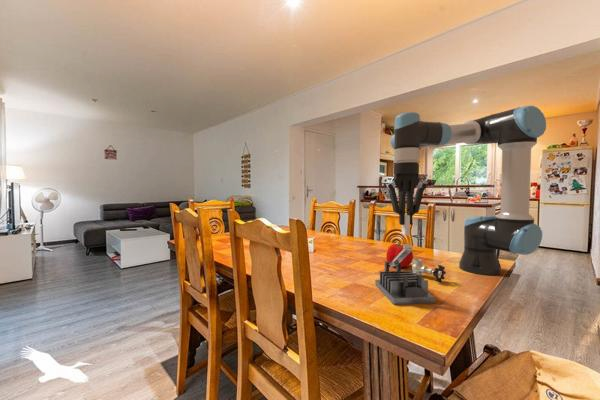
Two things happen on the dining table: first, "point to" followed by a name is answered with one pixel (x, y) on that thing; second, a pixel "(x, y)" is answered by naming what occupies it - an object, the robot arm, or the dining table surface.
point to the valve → (428, 270)
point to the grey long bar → (401, 255)
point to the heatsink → (404, 286)
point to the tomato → (394, 252)
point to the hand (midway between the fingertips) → (405, 234)
